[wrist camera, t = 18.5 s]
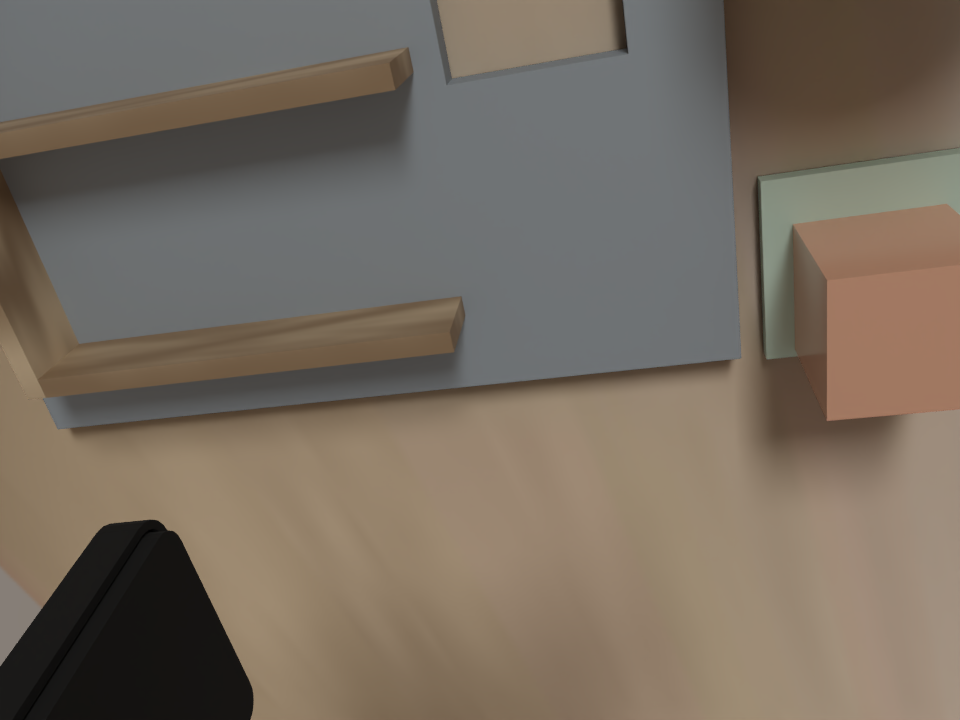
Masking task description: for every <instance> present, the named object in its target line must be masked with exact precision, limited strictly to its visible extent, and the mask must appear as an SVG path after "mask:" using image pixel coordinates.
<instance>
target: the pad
mask: <svg viewBox="0 0 960 720" xmlns="http://www.w3.org/2000/svg"><path fill="white" fill-rule="evenodd" d="M758 203H759V231H760V259H761V287H762V315H763V343H764V354H765V357H766V359H777V358H787V357H796V356H798V355H797V353H796V351H795V325H794V268H793V224H797V223H805V222H813V221H820V220H828V219H835V218H843V217H850V216H858V215H866V214H873V213H881V212H888V211H896V210H903V209H911V208H919V207H926V206H934V205H941V204H948V205H949V206H950V207H951V208H952V209H954V210H955V211H956V212H957V213H958V214H959V215H960V148H955V149H948V150H941V151H934V152H927V153H920V154H913V155H906V156H899V157H892V158H885V159H878V160H871V161H864V162H857V163H850V164H843V165H836V166H829V167H821V168H814V169H807V170H800V171H793V172H786V173H779V174H772V175H765V176H758Z"/></svg>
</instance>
